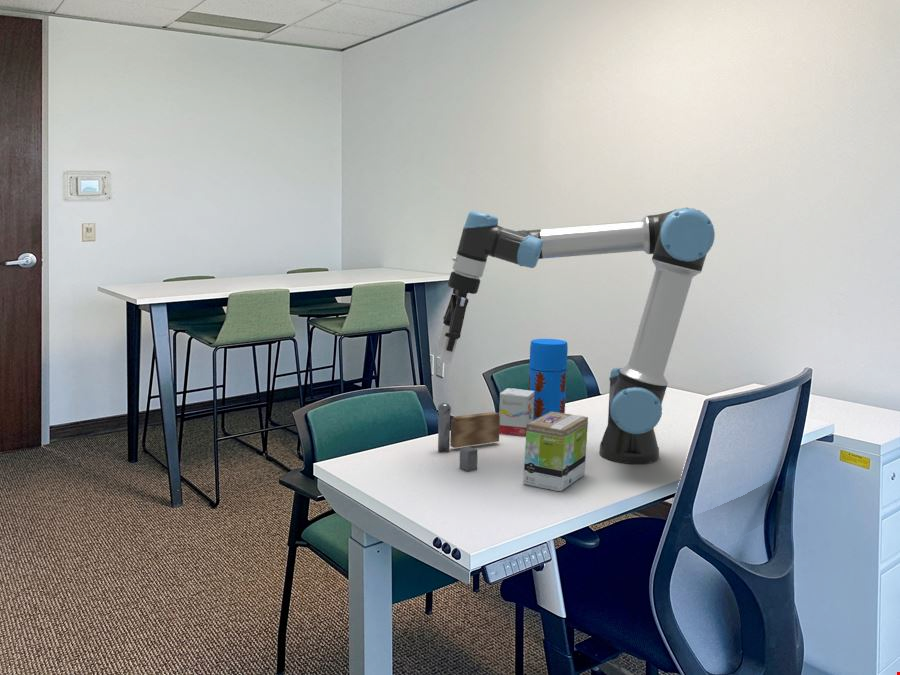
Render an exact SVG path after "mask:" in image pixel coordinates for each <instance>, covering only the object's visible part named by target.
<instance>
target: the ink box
mask: <svg viewBox="0 0 900 675" xmlns="http://www.w3.org/2000/svg"><path fill="white" fill-rule="evenodd" d="M534 396H535V391H530V390H529V389H521V388H520V389H519V388H511V387H510V388H509V387H507V388H505V389H504V390H503V391H501V392H500V393H499V406H498V408H499V410H498V414H499V415H500V429H499V435H508V434H512V435H511V436H517V435H518V437H526V429H527V423H529V422H531V421H533V415H534ZM501 433H502V434H501Z"/></svg>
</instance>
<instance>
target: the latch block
mask: <svg viewBox="0 0 900 675" xmlns="http://www.w3.org/2000/svg"><path fill="white" fill-rule="evenodd" d="M478 450H479V449H477V448H474V447H473V446H464V447H460V448H459V469H460V470H462V471H465V472H467V473H468V472H471V471H475V470H478Z"/></svg>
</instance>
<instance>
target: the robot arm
mask: <svg viewBox="0 0 900 675" xmlns="http://www.w3.org/2000/svg"><path fill="white" fill-rule="evenodd" d="M498 222H499V218H498V217H497V216H494V215H492V214H489V213H486V212H481V211H478V210H472V211H469V213H468V214H467V217H466V220H465V224H464V225H463V228H462V231H461V232H462V233H461V236H460V239H459V244H458V247H457V250H456V256H453V257H452V261H453V264H452V270H453V271H451V272H450V275H449V279H448V283H447V285H448V287H449V288H451V289H452V293H451V295H450V300H449V302H448V304H447V308H446V311H445V313H444V316H443V322H442V326H441V330H440V333H439V337H438V340H437V345H436V350H441V355H440V357H439V358H440V359H439V363H441V364H442V363H443V364H446V365H450V366H451V364H452V360H453V358H454V355H455V351H456V346H457V344H458V341H459V340H458V339H460V338H461V333H462V328H463V325H464V319H465V315H466V311H467V310H466V309H467V306H468V303H469V298H467V296H468V294H472V295H474V294H477V293H478V292H479V288H480V285H481V279H480V278H483V274H484V271H485V268H486V264H487V260H488V257H492V258H495V259H499V260H502V261H506V262H509V263H513V264H515V265H518V266H520V267H526V268H529V269H534V268H536V267H537V264H538V262H539V260H541V259H542V260H543V259H555V258H557V259H558V258H567V257H580V256H582V257H583V256H593V255H606V254H618V253H620V254H621V253H631V252H644V253H646V254H647V255H652V258H651V262H652V263H653V265H654V267H655V271H654V274H653V278H652V281H651V285H650V289H649V292H648V295H647V299H646V301H645V305H644V309H643V312H642V316H641V318H640V323H639V324H638V329H637V333H636V337H635V340H634V342H633V347H632V351H631V354H630V357H629V361H628V363H627V364H626V366H623V367H615V368H613V369H611V371H610V376H609V378H608V379H609V393H608V394H609V395H608V411H607V412H608V414H607V426H606V428H605V431H604V433H603V436H602V439H601V442H600V444H599V455H600V456H601V457H602V458H604V459H607V460H610V461H614V462H617V463H618V462H619V463H624V464H632V465H633V464H636V465H637V464H638V465H639V464H641V465H642V464H648V463H654V462H656V461H658V460H659V458H660V457H659V456H660V448H659V446H658V441H657V437H656V433H655V429H654V428H655V427H657V425H659V424H658V423H659V422H660V420H661V418H662V414H663V412H662V411H663V407H662V404H663V401H664V397H665V394H666V390H667V388H668V380H667V379H666V377H665V375H664V374H665V372H666V367H667V364H668V362H669V359H670V355H671V352H672V349H673V348H672V347H673V344H674V341H675V338H676V334H677V330H678V328H679V324H680V322H681V321H680V320H681V318H682V315H683V311H684V307H685V304H686V300H687V297H688V294H689V291H690V287H691V284H692V281H693V279H694V277H695V276H697V275H699V274H702V271H703V267H704V264H705V261H706V257H707V254H708V253H709V252H710V251H711V248H712V247H713V246H714V242H715V228H714V225H713V224H714V223H713V222H712V220H711V218H710V217H709V216H708V215H707V214H705V213H704V212H703V211H701V210H700V209H696V208H694V207H681V208H675V209H673V210H670V211H667V212H661V213H659V214H658V213H657V214H651V215H645V216H644V217H643V218H642V219H641V220H629V221H628V220H627V221H619V222H607V223H597V224H585V225H573V226H563V227H553V228H541V229H529V230H528V229H527V230H526V229H523V230H512V229H510V228H505V227H503V226H500V225H499V223H498Z"/></svg>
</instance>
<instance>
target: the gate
mask: <svg viewBox="0 0 900 675" xmlns="http://www.w3.org/2000/svg"><path fill="white" fill-rule="evenodd" d="M499 429H500V415H499V412H496V411H491V412H490V411H489V412H481V413H473V414H465V415H458V416H457V415H456V416H452V418H450V447H452V448H454V449H455V448H456V449H457V448H465V447H472V446H477V445H483V444H491V443H496V442H498V443H499V442H500V433H499Z"/></svg>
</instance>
